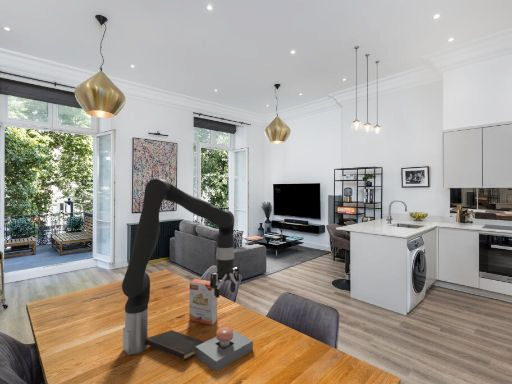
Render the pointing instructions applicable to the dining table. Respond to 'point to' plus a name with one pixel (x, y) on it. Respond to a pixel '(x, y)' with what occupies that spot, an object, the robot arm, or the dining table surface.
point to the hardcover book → (174, 344)
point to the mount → (223, 351)
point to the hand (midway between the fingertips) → (225, 294)
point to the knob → (224, 336)
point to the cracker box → (202, 302)
